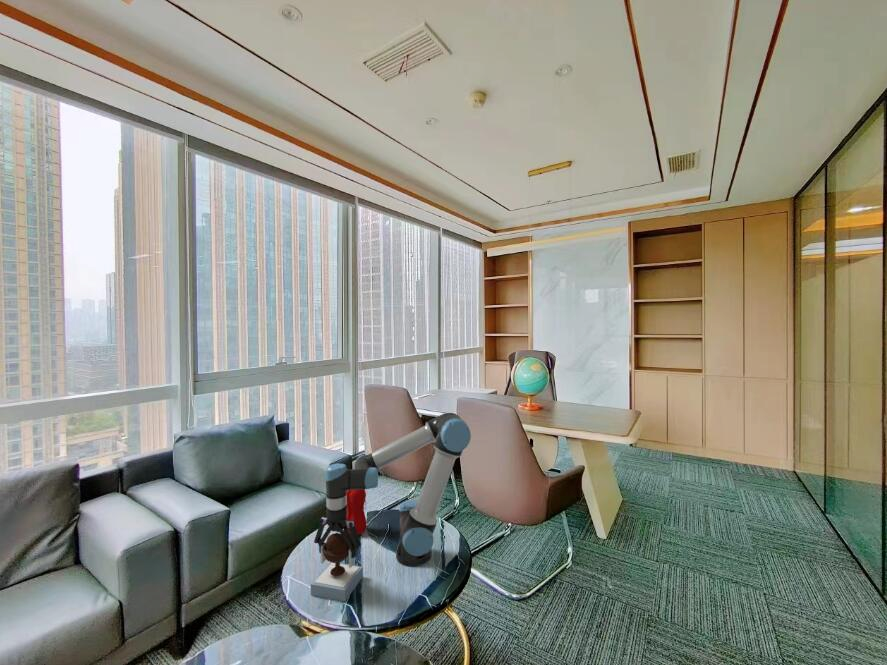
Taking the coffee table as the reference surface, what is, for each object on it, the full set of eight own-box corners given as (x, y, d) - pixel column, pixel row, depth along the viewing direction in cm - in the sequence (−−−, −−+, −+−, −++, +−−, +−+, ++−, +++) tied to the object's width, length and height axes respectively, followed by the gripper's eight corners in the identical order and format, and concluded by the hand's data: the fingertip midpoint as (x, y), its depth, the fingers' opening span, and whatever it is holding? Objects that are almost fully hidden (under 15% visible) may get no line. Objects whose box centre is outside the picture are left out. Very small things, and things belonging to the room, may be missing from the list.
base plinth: (362, 576, 151) (362, 565, 151) (345, 601, 137) (344, 589, 137) (331, 571, 154) (331, 560, 154) (310, 594, 141) (310, 583, 140)
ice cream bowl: (353, 577, 142) (352, 537, 142) (322, 583, 139) (321, 542, 139) (352, 560, 152) (351, 523, 152) (322, 566, 149) (322, 527, 149)
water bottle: (360, 539, 178) (359, 485, 177) (341, 534, 182) (341, 481, 182) (372, 529, 186) (371, 478, 186) (354, 525, 191) (353, 475, 190)
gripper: (369, 504, 146) (370, 561, 146) (315, 498, 152) (316, 553, 152) (360, 514, 139) (361, 574, 139) (303, 507, 145) (304, 564, 145)
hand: (337, 563), depth 145 cm, fingers closed on ice cream bowl, 11 cm apart
